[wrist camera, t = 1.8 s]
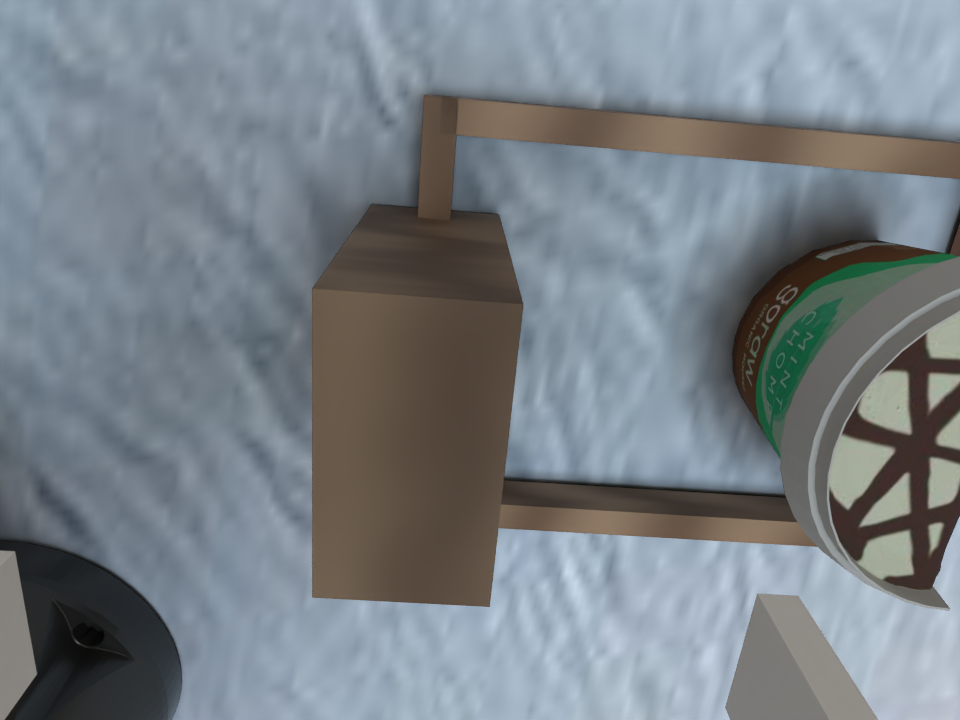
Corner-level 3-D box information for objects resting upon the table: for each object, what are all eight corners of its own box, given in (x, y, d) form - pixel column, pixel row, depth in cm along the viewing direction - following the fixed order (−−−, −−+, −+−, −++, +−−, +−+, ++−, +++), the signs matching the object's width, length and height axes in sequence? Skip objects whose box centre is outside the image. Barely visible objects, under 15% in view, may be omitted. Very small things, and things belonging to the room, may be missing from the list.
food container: (739, 189, 29) (874, 244, 19) (889, 203, 29) (1092, 264, 20) (680, 461, 33) (765, 613, 24) (810, 470, 33) (944, 623, 24)
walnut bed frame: (363, 494, 33) (312, 709, 22) (375, 89, 27) (312, 99, 15) (885, 526, 34) (1090, 744, 23) (1015, 147, 28) (1385, 194, 17)
